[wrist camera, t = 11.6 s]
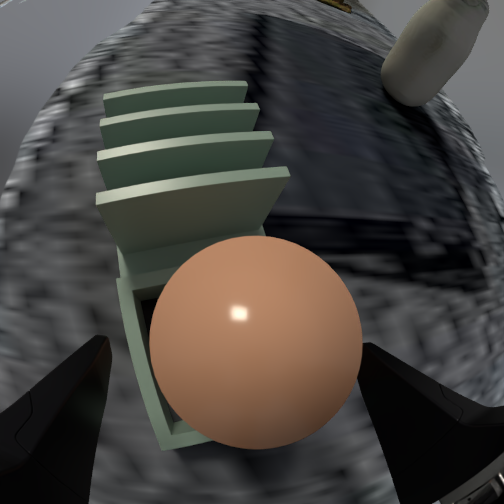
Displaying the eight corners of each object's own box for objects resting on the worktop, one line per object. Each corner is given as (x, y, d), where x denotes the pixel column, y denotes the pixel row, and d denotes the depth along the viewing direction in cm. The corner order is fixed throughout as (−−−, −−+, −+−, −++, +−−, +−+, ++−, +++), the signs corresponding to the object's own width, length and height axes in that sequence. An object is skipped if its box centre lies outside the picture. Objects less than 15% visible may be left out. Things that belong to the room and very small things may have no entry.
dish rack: (165, 435, 13) (153, 487, 7) (115, 166, 19) (99, 93, 12) (306, 393, 16) (375, 408, 10) (229, 150, 22) (249, 79, 15)
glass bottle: (371, 71, 38) (439, -34, 12) (415, 101, 38) (489, 7, 13) (369, 91, 34) (454, -35, 8) (420, 126, 34) (512, 17, 9)
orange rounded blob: (213, 409, 15) (258, 485, 5) (155, 342, 15) (104, 321, 6) (276, 353, 17) (391, 342, 7) (221, 290, 18) (272, 201, 8)
